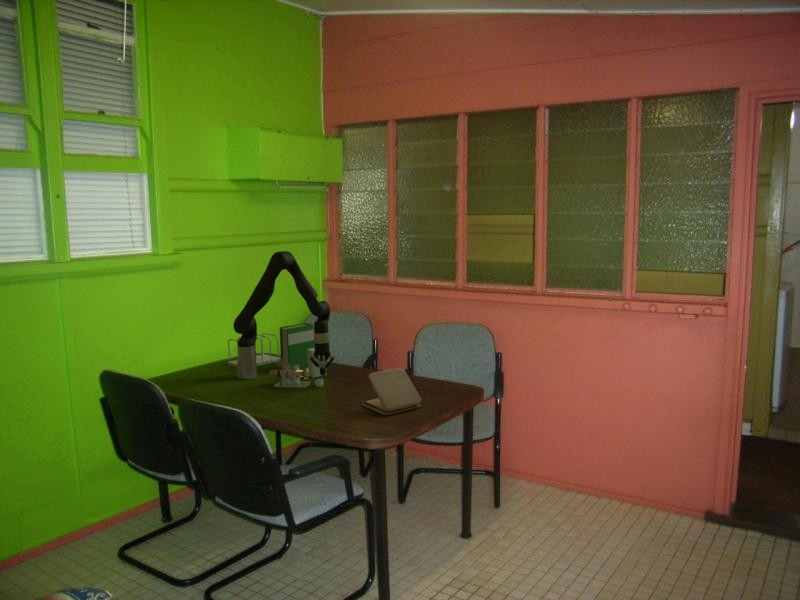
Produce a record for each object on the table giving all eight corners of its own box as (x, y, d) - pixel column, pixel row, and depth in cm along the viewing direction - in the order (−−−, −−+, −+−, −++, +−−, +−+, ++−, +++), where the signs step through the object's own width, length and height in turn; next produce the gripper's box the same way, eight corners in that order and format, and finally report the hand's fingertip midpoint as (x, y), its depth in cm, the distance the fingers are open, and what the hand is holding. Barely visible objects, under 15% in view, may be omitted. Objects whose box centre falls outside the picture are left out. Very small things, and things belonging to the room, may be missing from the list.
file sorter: (263, 357, 393) (262, 331, 391) (281, 361, 381) (280, 335, 379) (227, 364, 375) (226, 338, 372) (245, 369, 363) (243, 342, 361)
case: (386, 417, 277) (385, 380, 275) (359, 405, 294) (359, 370, 292) (423, 408, 289) (423, 373, 287) (396, 397, 306) (396, 364, 304)
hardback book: (289, 372, 355) (287, 328, 352) (281, 369, 360) (279, 327, 357) (314, 366, 368) (313, 324, 365) (306, 364, 373) (305, 322, 370)
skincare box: (322, 373, 351) (321, 346, 349) (326, 375, 346) (325, 348, 344) (307, 375, 347) (306, 348, 345) (312, 378, 342) (311, 350, 340)
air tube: (269, 379, 327) (268, 369, 326) (272, 377, 333) (272, 366, 332) (306, 380, 325) (306, 369, 324) (309, 377, 330) (309, 367, 329)
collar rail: (274, 387, 326) (273, 363, 324) (280, 382, 335) (279, 359, 333) (320, 388, 323) (319, 364, 321) (324, 382, 332) (323, 360, 330)
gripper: (306, 342, 321) (308, 377, 323) (332, 343, 319) (334, 377, 321) (310, 339, 328) (312, 373, 331) (336, 339, 326) (337, 373, 329)
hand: (323, 375), depth 326 cm, fingers closed
